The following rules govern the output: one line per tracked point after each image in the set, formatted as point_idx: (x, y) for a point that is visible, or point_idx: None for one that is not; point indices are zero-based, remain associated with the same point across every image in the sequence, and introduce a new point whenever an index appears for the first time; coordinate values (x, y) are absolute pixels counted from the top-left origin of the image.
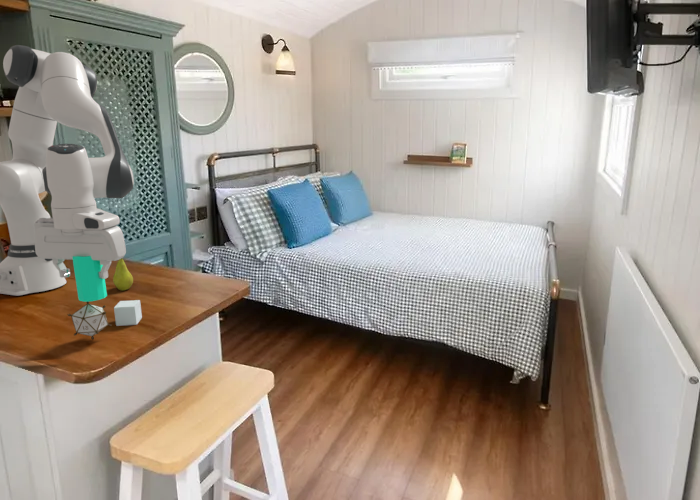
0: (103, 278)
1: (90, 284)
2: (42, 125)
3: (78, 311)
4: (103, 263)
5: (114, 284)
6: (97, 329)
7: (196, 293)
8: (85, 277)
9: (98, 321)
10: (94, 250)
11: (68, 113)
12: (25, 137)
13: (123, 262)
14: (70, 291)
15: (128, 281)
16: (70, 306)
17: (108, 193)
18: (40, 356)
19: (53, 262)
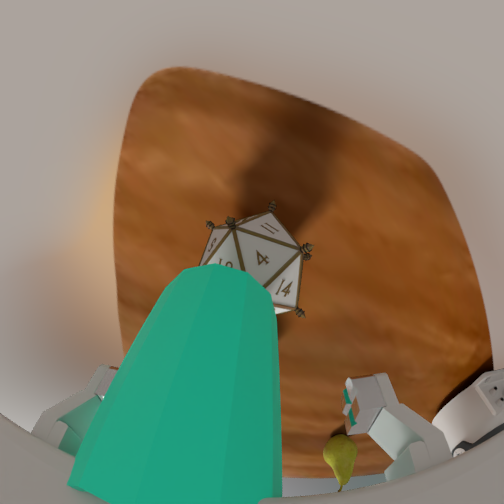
0: (103, 364)
1: (151, 324)
2: None
3: (277, 265)
4: (48, 424)
5: (352, 441)
6: (211, 233)
7: None
8: (150, 351)
9: (206, 251)
10: (28, 501)
11: None
12: None
13: (338, 479)
14: (421, 412)
15: (327, 450)
16: (404, 378)
17: None
18: (329, 129)
19: (440, 438)
